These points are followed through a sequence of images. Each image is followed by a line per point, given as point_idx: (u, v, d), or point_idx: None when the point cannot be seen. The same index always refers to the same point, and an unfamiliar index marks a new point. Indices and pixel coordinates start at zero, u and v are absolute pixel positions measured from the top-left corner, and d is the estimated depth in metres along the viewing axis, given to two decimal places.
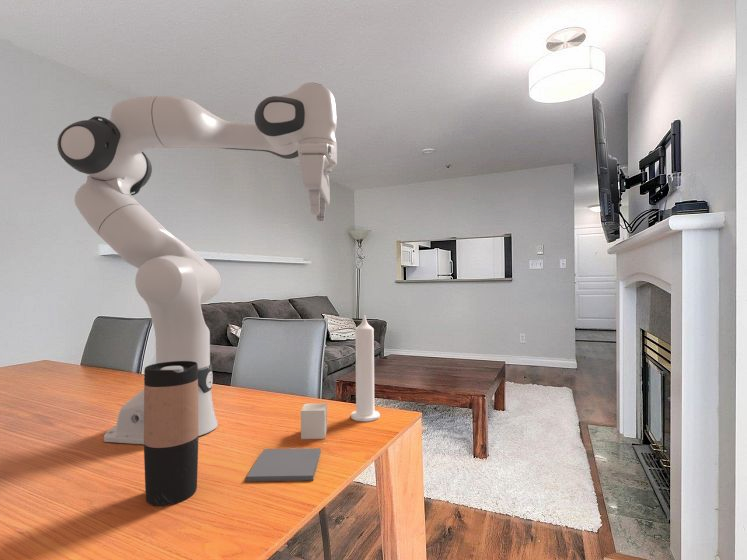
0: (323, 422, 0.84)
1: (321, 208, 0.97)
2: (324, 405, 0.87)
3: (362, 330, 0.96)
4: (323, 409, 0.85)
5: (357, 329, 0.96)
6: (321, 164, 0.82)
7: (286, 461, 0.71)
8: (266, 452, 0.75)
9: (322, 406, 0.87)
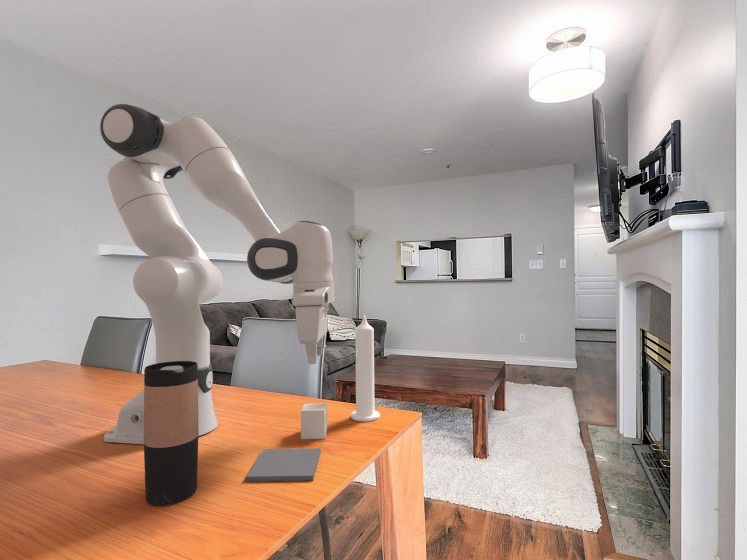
0: (323, 422, 0.84)
1: (318, 340, 0.92)
2: (324, 405, 0.87)
3: (362, 330, 0.96)
4: (323, 409, 0.85)
5: (357, 329, 0.96)
6: (317, 320, 0.77)
7: (286, 461, 0.71)
8: (266, 452, 0.75)
9: (322, 406, 0.87)
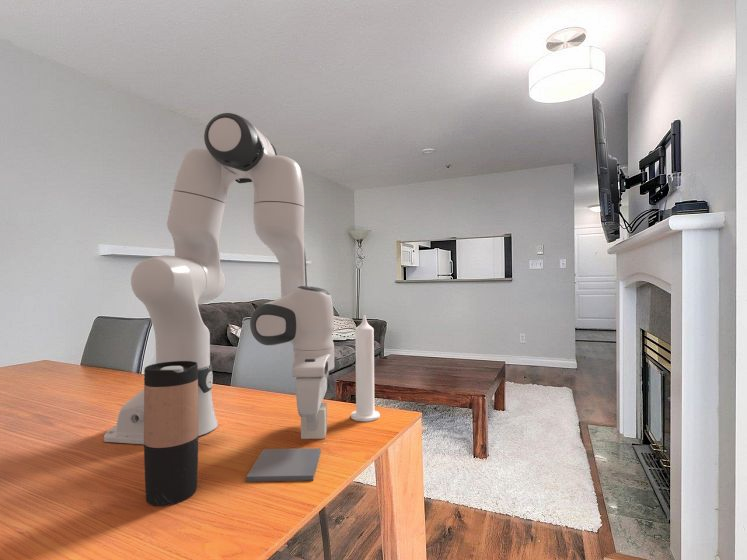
0: (323, 422, 0.84)
1: None
2: (324, 405, 0.87)
3: (362, 330, 0.96)
4: (323, 409, 0.85)
5: (357, 329, 0.96)
6: (317, 393, 0.77)
7: (286, 461, 0.71)
8: (266, 452, 0.75)
9: (322, 406, 0.87)
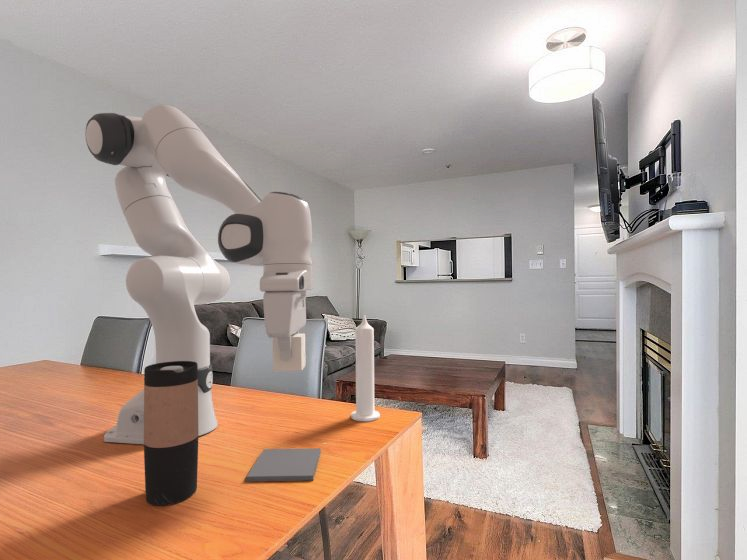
0: (300, 351, 0.70)
1: None
2: (302, 334, 0.74)
3: (362, 330, 0.96)
4: (300, 336, 0.71)
5: (357, 329, 0.96)
6: (289, 308, 0.63)
7: (286, 461, 0.71)
8: (266, 452, 0.75)
9: (299, 335, 0.73)
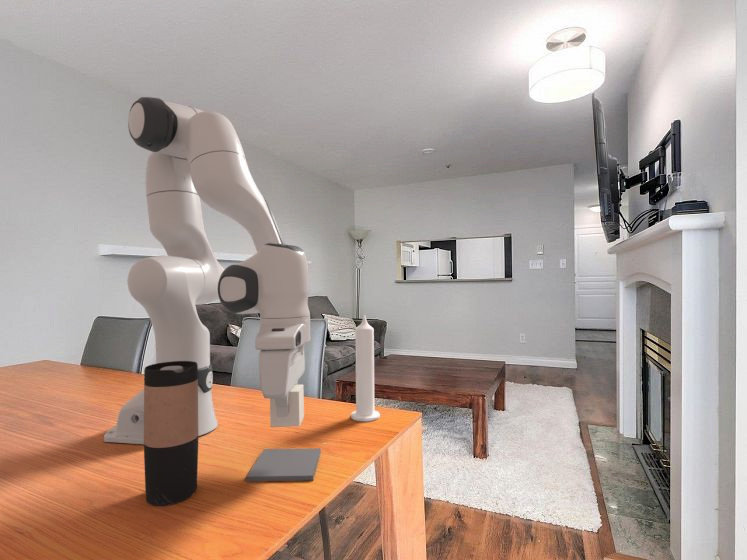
0: (297, 406, 0.69)
1: None
2: (300, 386, 0.72)
3: (362, 330, 0.96)
4: (297, 390, 0.70)
5: (357, 329, 0.96)
6: (285, 368, 0.62)
7: (286, 461, 0.71)
8: (266, 452, 0.75)
9: (297, 387, 0.72)
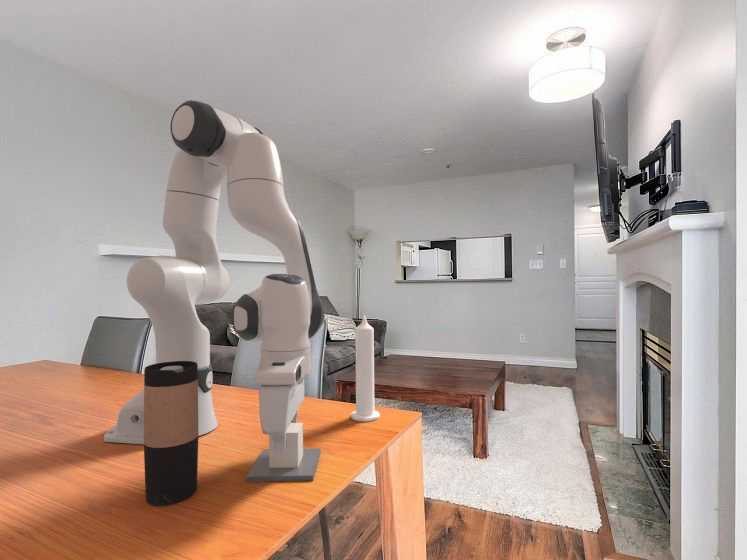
0: (296, 447, 0.69)
1: None
2: (299, 425, 0.72)
3: (362, 330, 0.96)
4: (297, 431, 0.70)
5: (357, 329, 0.96)
6: (285, 405, 0.62)
7: None
8: (266, 452, 0.75)
9: (296, 427, 0.72)
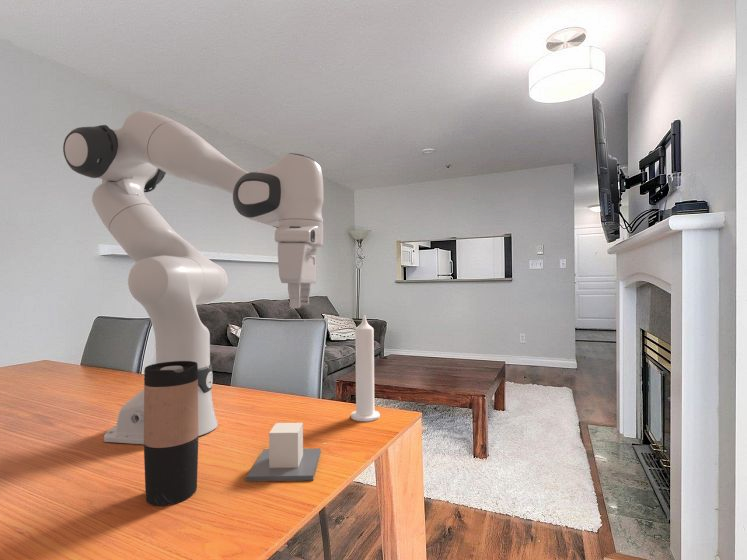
0: (296, 447, 0.69)
1: (305, 289, 0.85)
2: (299, 425, 0.72)
3: (362, 330, 0.96)
4: (297, 431, 0.70)
5: (357, 329, 0.96)
6: (301, 256, 0.69)
7: None
8: (266, 452, 0.75)
9: (296, 427, 0.72)
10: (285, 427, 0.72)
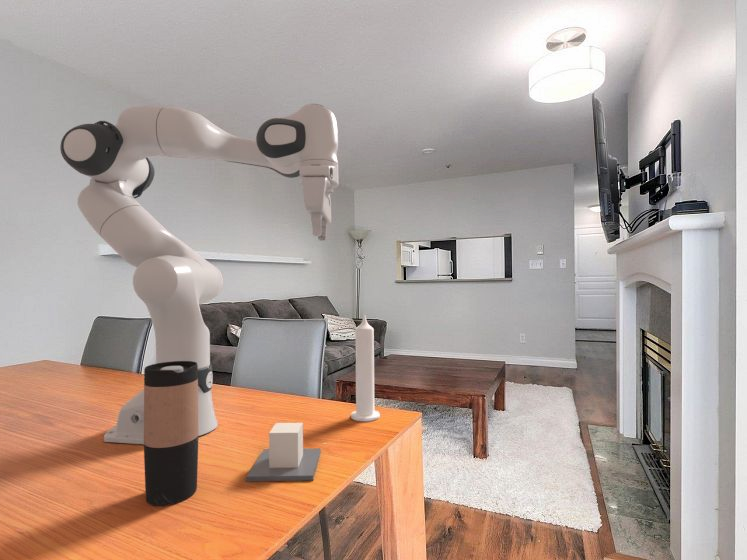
0: (296, 447, 0.69)
1: (323, 227, 0.97)
2: (299, 425, 0.72)
3: (362, 330, 0.96)
4: (297, 431, 0.70)
5: (357, 329, 0.96)
6: (323, 187, 0.81)
7: None
8: (266, 452, 0.75)
9: (296, 427, 0.72)
10: (285, 427, 0.72)
